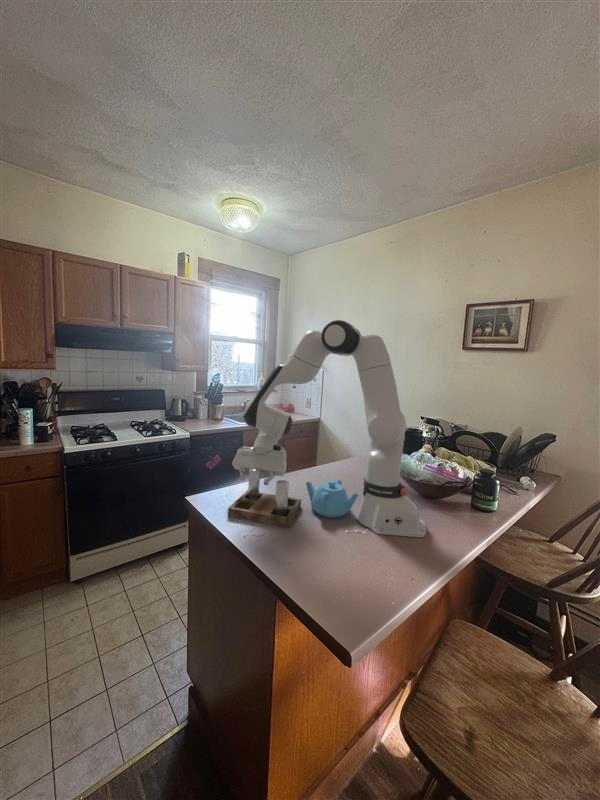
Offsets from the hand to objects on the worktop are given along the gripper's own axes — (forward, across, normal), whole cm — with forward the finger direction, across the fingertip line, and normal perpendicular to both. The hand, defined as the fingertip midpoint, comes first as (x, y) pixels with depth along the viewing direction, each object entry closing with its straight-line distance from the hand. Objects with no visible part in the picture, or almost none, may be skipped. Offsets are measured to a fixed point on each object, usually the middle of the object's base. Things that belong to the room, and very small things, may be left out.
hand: (253, 482), depth 115 cm
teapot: (+2, +28, +11) cm, 30 cm away
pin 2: (+11, +13, +1) cm, 17 cm away
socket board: (+8, +6, +4) cm, 11 cm away
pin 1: (+6, 0, +6) cm, 8 cm away
